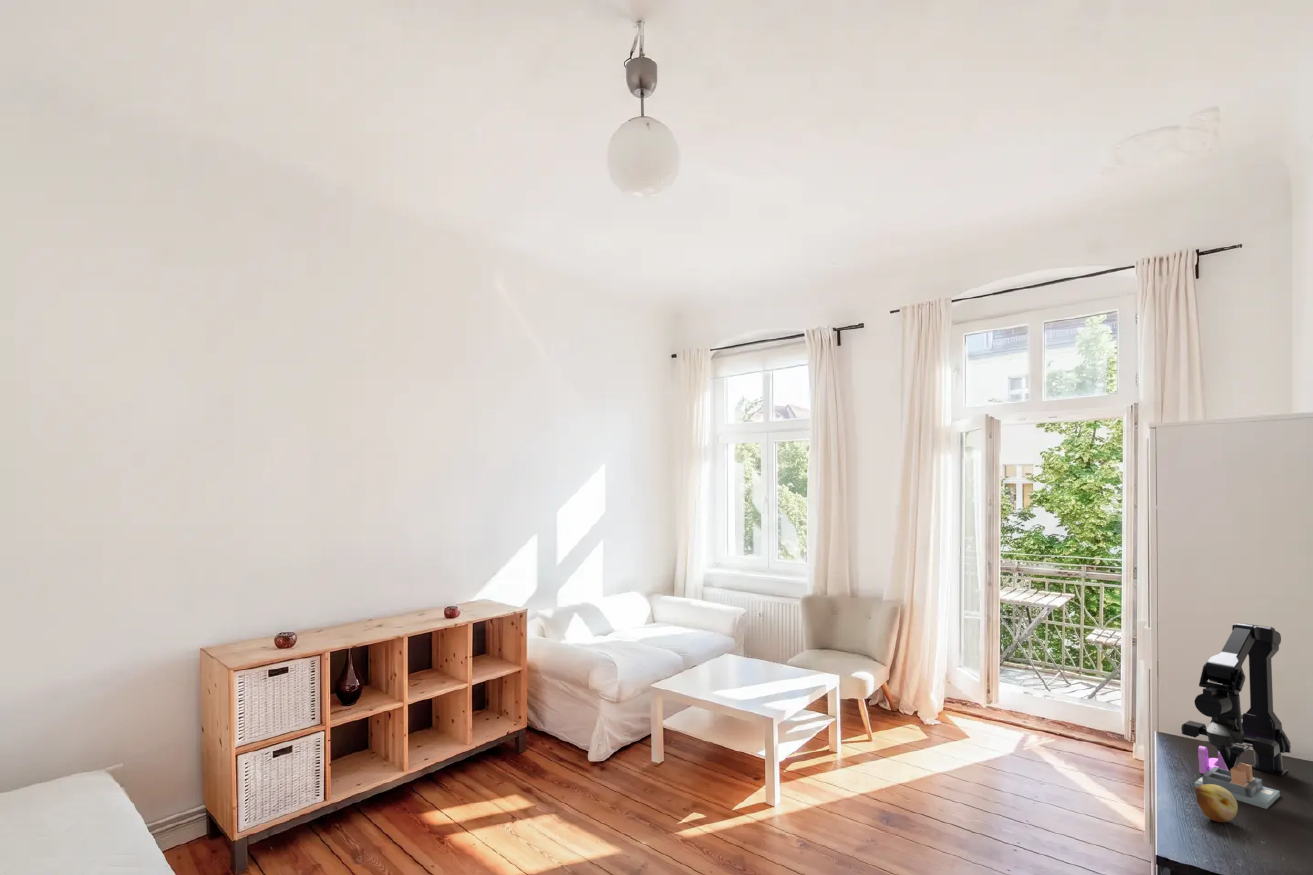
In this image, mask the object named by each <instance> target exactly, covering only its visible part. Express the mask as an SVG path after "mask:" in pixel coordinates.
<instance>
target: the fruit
mask: <svg viewBox="0 0 1313 875" xmlns="http://www.w3.org/2000/svg"><path fill="white" fill-rule="evenodd" d="M1194 794H1195V796H1196V802H1197V804H1198V807H1199V808H1200V810H1201V811H1202V813H1203V814H1204V815H1205V816H1206V817H1207V818H1209V820H1211V821H1214V822H1218V823H1226V822H1230V821H1232V820H1233V819H1234V818H1236V816H1237V814H1238V808H1239V806H1238V800H1236V799H1235V798H1234V796H1233V795H1232V794H1231V793H1230V792H1229V791H1228V790H1227V789H1225V788H1223V787H1221V786H1219V785H1214V784H1205V785H1201V786H1198V787H1197V788H1195V789H1194Z"/></svg>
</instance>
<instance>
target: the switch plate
mask: <svg viewBox="0 0 1313 875" xmlns="http://www.w3.org/2000/svg"><path fill="white" fill-rule="evenodd" d="M1218 767H1219V766H1218ZM1218 767H1214V768H1212V769H1211V770H1209V771H1208V772H1207V773H1205V774H1203V775H1202V777H1201V776H1200V778H1198V779H1197V780H1196V781H1194V788H1195V789H1196V788H1197V787H1198V786H1201V785H1205V784H1214V785H1219V786H1221V787H1223V788H1225V789H1227V790H1228V791H1229V792H1230V793H1231V794H1232V795H1233V796H1234V798H1235V799H1236V801H1238V802H1242V803H1246V804H1249V805H1252V806H1256V807H1258V808H1263V809H1265V810H1267V809H1268V808H1270V806H1272V805H1273V803H1274V802H1276V800H1278V799H1279V797H1280V796H1281V794H1280V793H1281V792H1280V790H1278V789H1277V790H1276V789H1274V788H1271V787H1266V786H1263V779H1261V778H1258V777H1254V776H1253V778H1255V780H1254V781H1253V782H1249V781H1247V783H1249V785H1248V786H1247V787H1243V786H1239V785H1236V784H1232V783H1230V781H1232V780H1231V772H1230V771H1229V770H1225V769H1222V768H1218Z"/></svg>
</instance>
